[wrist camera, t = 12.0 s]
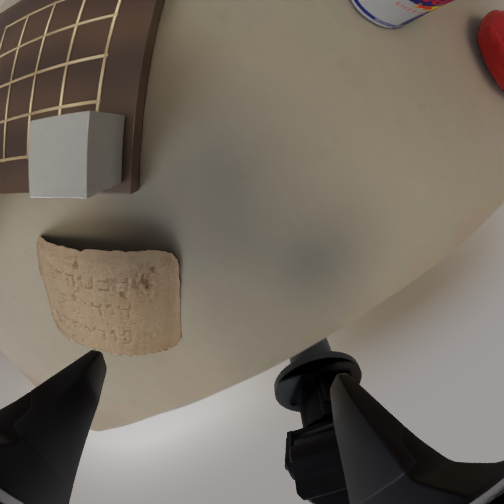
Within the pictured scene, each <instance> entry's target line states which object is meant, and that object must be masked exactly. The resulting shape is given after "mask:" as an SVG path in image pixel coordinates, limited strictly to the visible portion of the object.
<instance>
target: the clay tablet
mask: <svg viewBox="0 0 504 504" xmlns="http://www.w3.org/2000/svg"><path fill="white" fill-rule="evenodd" d="M37 253H38V261H39V270H40V274H41V276H42V279H43V282H44V284H45V288H46V293H47V297H48V301H49V304H50V307H51V312H52V315H53V318H54V321H55V322H56V325H57V328H58V329H59V330H60V331H61V332H62V334H64V335H65V336H66V337H67V338H68V339H69V340H71V339H72V341H74V342H75V343H78V344H81V345H86V346H87V345H88V346H90V347H92V348H93V349H95V350H96V349H97V350H102V351H104V352H108V353H116V354H118V355H127V356H133V355H136V356H137V355H144V354H147V353H156V352H157V351H158V352H161V351H162V350H165V351H166V350H167V349H168V348H171V347H173V346H176V345H177V342H179V340H180V339H181V325H180V294H179V289H180V283H181V282H180V281H179V264H178V259H176V258H175V257H174V255H173V254H172V253H167V252H166V251H160V250H146V251H142V250H141V251H139V252H135V251H128V252H123V251H120V250H119V251H118V250H115V251H114V250H113V251H111V252H109V251H104V250H93V249H85V250H83V251H81V252H80V251H78V250H76V249H70V248H65V247H64V246H56V245H55V244H51V243H48V242H46V241H44V238H42V237H41V236H39V239H38V241H37Z"/></svg>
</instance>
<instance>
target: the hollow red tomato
mask: <svg viewBox="0 0 504 504" xmlns="http://www.w3.org/2000/svg"><path fill="white" fill-rule="evenodd" d="M477 37H478V44H479V47H480V51H481V53H482V55H483V58H484V60H485V63H486V66H487V68H488V70H489V72H490V73H491V75H492V76H493V78H494V80H495V81H496V82H497V84H498V85H499V86H500V88H501V89H502V90H503V91H504V11H499V10H494V11H491V12H489V13H488V14H487V15H486V16H485V17H484V18H483V19H482V21H481V24H480V26H479V29H478V36H477Z"/></svg>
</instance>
